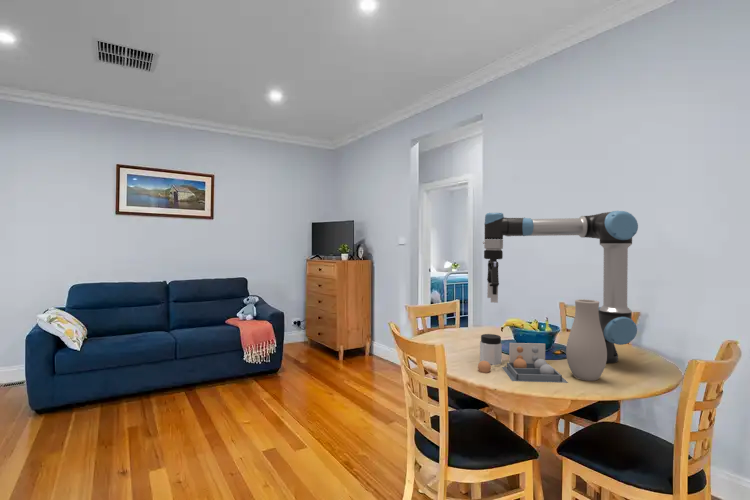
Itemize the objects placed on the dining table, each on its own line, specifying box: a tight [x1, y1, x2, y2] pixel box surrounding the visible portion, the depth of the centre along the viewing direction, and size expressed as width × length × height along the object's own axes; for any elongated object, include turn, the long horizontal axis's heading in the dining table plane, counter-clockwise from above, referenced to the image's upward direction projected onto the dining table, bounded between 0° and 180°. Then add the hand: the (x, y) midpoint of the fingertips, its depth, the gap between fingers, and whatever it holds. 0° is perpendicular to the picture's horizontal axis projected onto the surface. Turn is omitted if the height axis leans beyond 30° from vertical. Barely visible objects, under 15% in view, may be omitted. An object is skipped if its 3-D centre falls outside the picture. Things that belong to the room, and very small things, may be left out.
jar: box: [479, 333, 503, 366], centre depth 176 cm, size 9×8×12 cm
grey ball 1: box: [534, 359, 548, 369], centre depth 163 cm, size 5×5×5 cm
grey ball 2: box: [540, 363, 555, 375], centre depth 156 cm, size 5×5×5 cm
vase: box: [565, 298, 607, 382], centre depth 157 cm, size 14×14×30 cm
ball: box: [477, 361, 492, 374], centre depth 164 cm, size 5×5×5 cm
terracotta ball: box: [513, 358, 527, 368], centre depth 164 cm, size 5×5×5 cm
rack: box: [501, 342, 569, 384], centre depth 160 cm, size 20×17×11 cm
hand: (492, 300), depth 175 cm, fingers open, 13 cm apart
